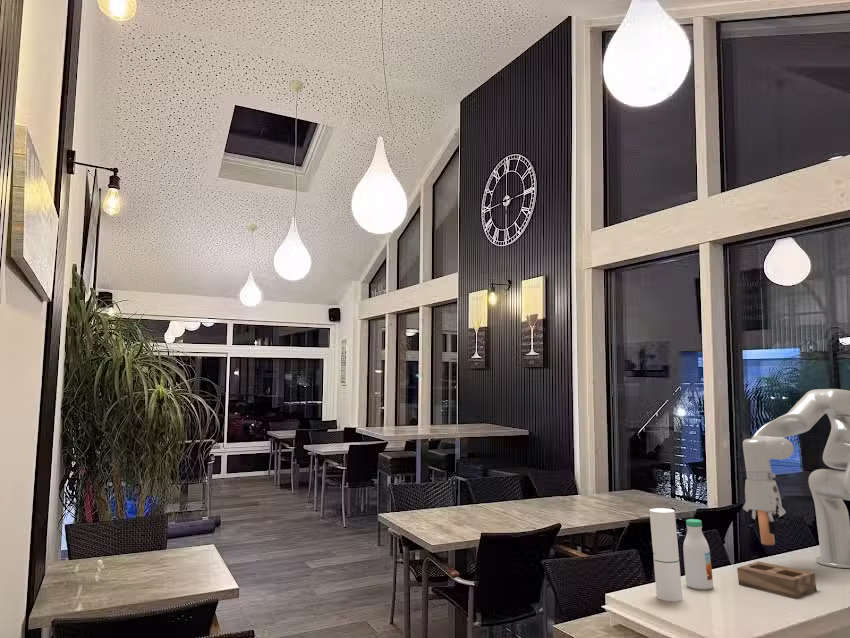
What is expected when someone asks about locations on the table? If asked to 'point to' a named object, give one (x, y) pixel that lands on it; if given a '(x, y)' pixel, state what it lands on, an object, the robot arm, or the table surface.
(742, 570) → the socket block
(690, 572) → the milk bottle
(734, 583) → the table surface
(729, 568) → the table surface
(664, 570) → the cylindrical container
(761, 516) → the pin
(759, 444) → the robot arm
